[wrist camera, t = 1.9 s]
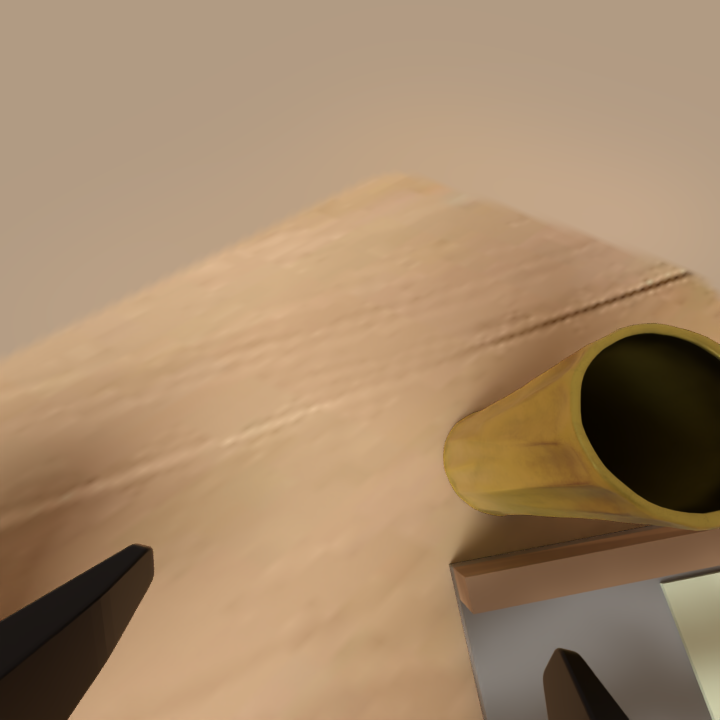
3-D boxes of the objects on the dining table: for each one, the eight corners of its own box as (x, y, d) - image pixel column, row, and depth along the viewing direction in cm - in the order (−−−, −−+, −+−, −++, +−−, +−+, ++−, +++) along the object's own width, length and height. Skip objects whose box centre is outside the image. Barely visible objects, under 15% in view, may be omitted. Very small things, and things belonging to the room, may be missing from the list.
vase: (421, 462, 23) (503, 418, 9) (484, 391, 24) (633, 266, 11) (502, 539, 21) (736, 618, 8) (564, 459, 23) (851, 413, 9)
